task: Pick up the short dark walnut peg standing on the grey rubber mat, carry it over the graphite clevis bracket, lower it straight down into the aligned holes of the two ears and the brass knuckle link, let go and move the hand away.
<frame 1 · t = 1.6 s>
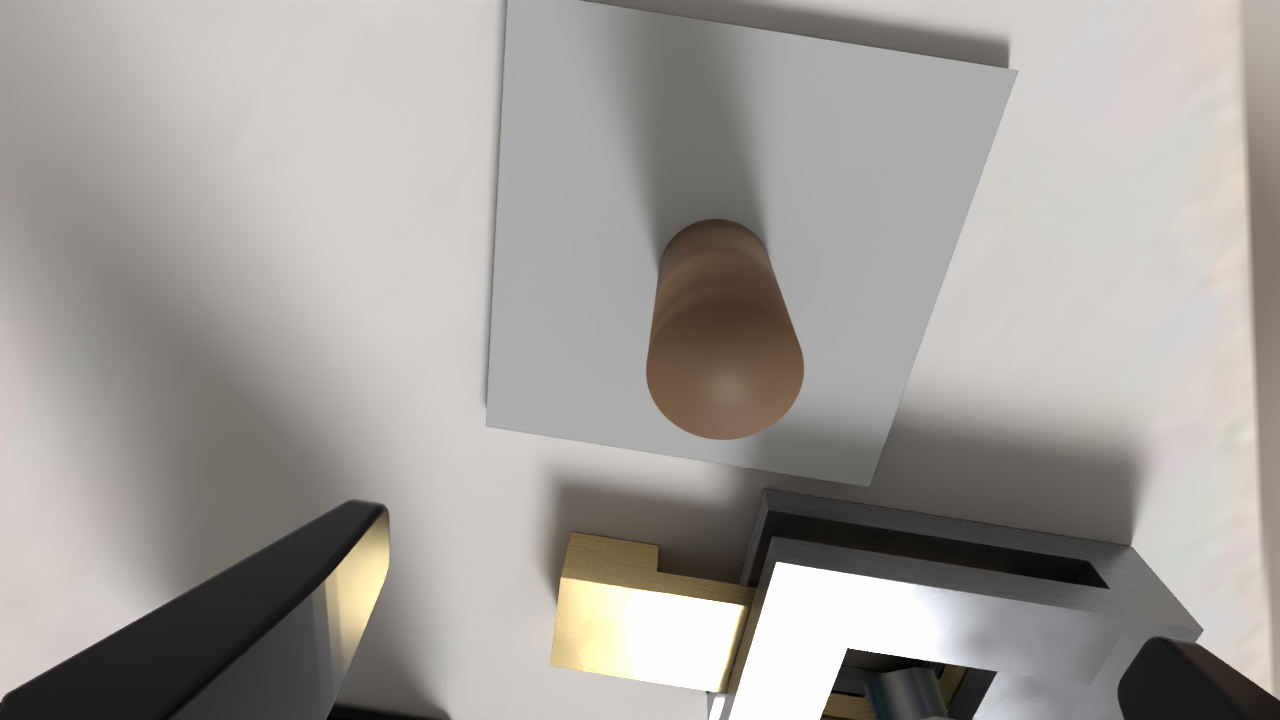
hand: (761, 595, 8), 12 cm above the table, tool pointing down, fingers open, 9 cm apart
grey mat: (713, 268, 19), on the table
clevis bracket: (872, 624, 24), on the table
walnut peg: (714, 273, 18), resting on grey mat
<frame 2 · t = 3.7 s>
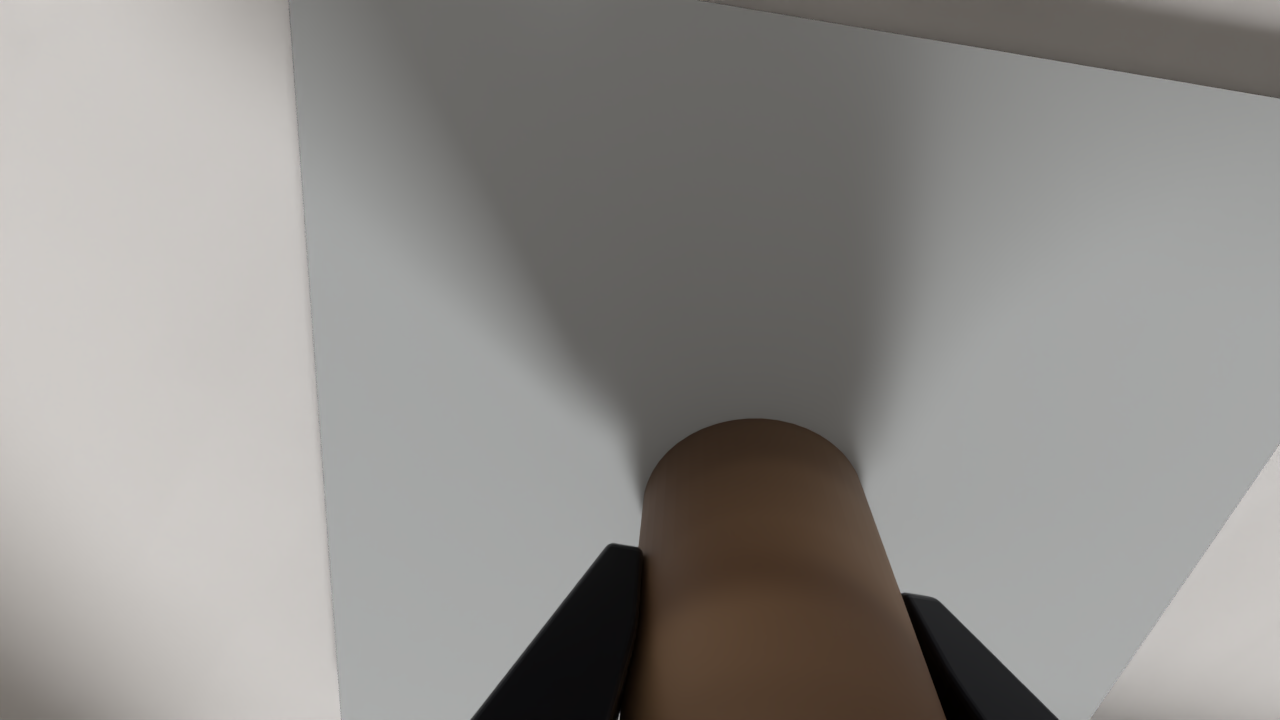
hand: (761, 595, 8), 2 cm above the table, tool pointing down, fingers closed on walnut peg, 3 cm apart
grey mat: (749, 490, 10), on the table
walnut peg: (751, 512, 9), resting on grey mat, touching gripper
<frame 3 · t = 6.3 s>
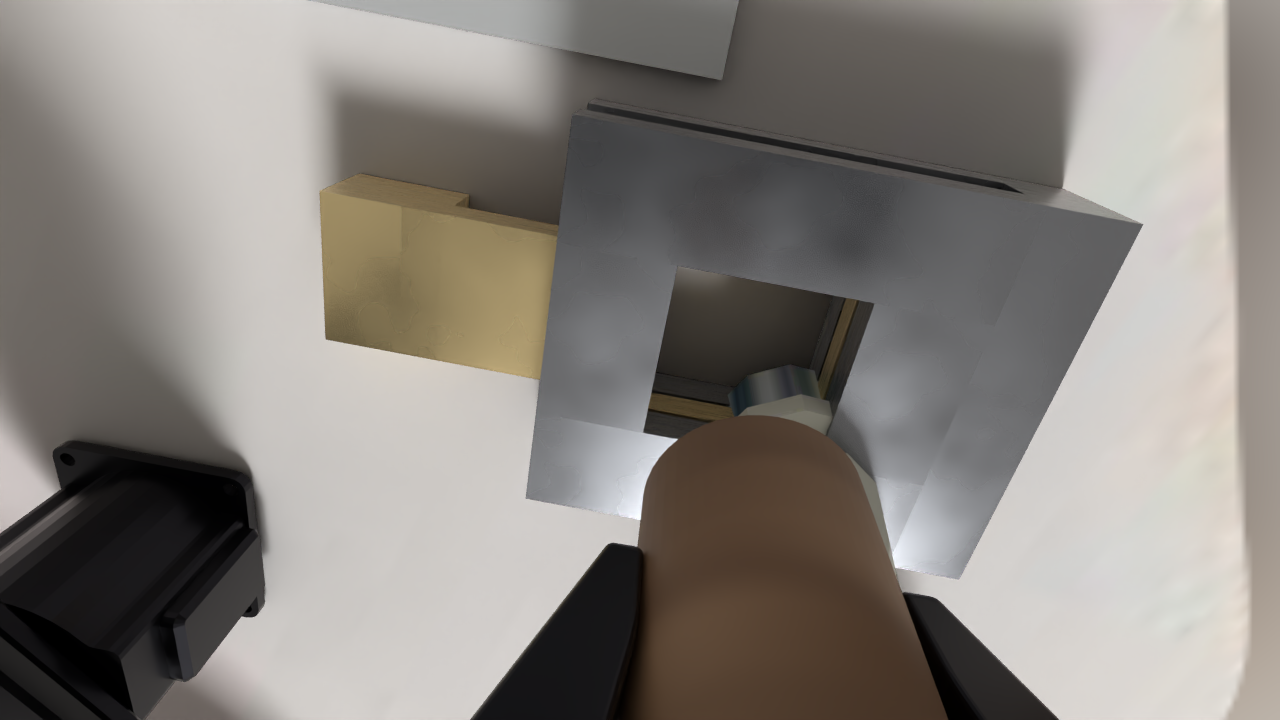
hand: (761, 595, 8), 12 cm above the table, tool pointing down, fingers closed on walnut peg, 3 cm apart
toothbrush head: (851, 650, 25), on the table, touching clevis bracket
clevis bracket: (743, 317, 19), on the table
walnut peg: (751, 509, 9), point 10 cm above the table, touching gripper
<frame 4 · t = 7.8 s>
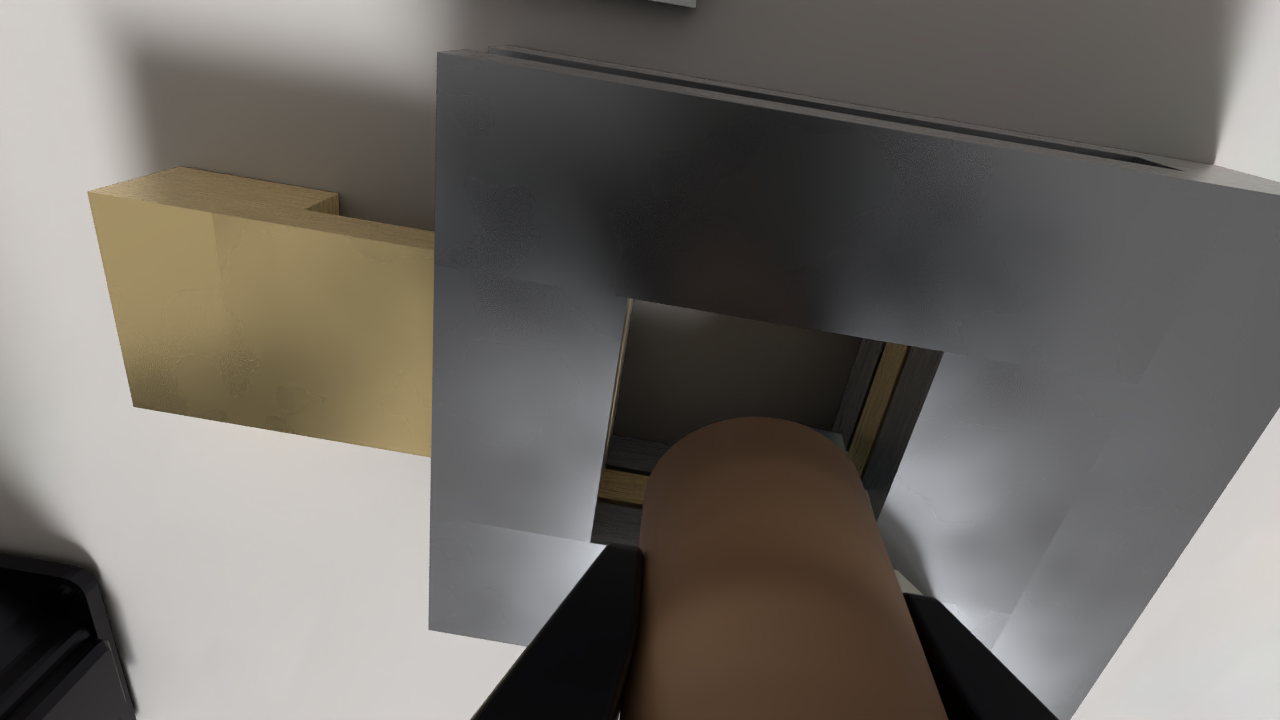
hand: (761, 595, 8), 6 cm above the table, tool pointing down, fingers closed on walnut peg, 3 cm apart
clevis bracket: (738, 359, 14), on the table
walnut peg: (752, 510, 9), point 5 cm above the table, touching gripper
when the fingers open (4 cm above the table, at t = 9.0 s): walnut peg drops 3 cm, resting in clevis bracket.
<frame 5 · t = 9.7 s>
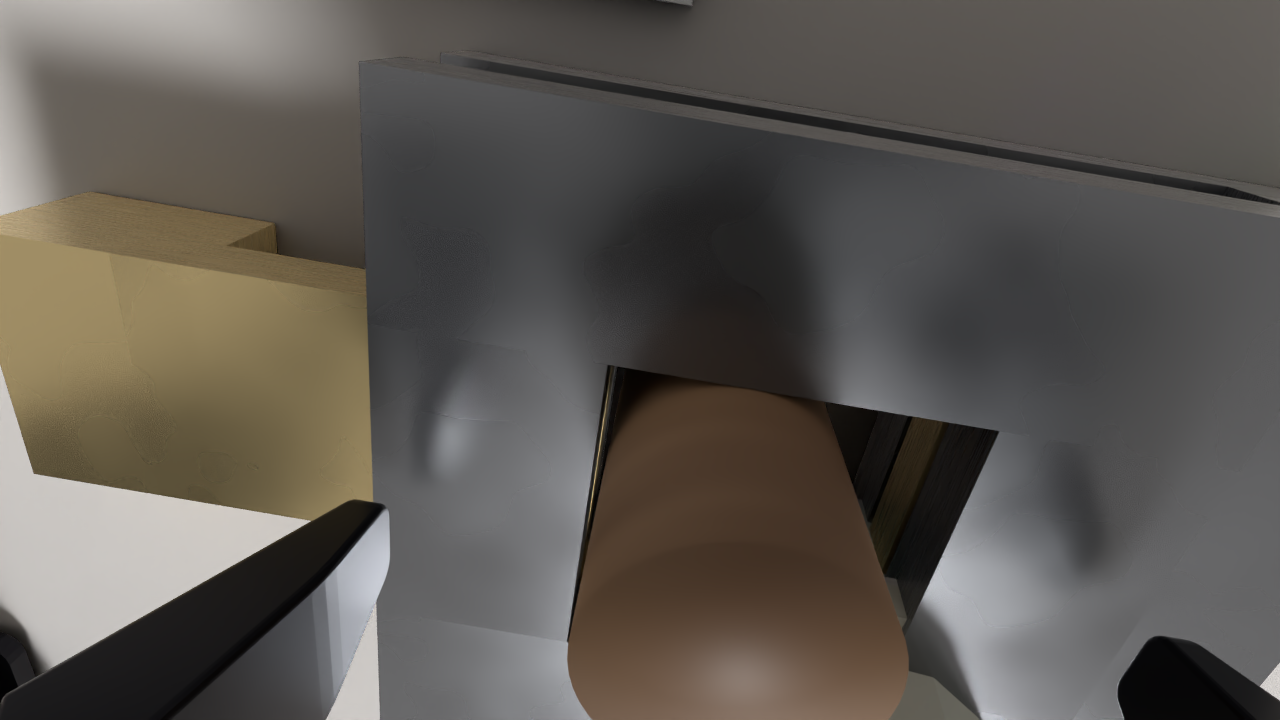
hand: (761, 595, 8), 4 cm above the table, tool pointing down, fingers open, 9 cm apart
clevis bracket: (742, 413, 12), on the table
walnut peg: (716, 369, 11), resting in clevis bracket
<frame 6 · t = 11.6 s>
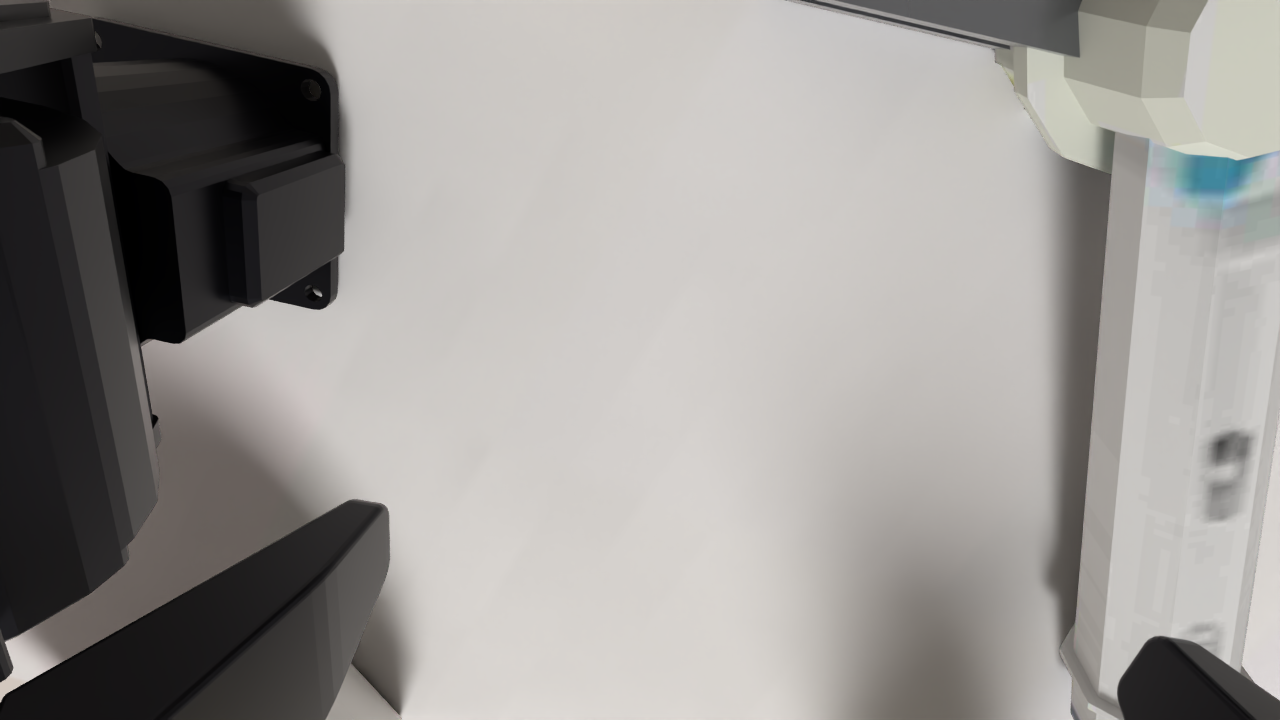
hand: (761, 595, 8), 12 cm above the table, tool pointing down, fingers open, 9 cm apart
soap bottle: (265, 706, 29), on the table
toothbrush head: (1101, 373, 19), on the table, touching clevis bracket
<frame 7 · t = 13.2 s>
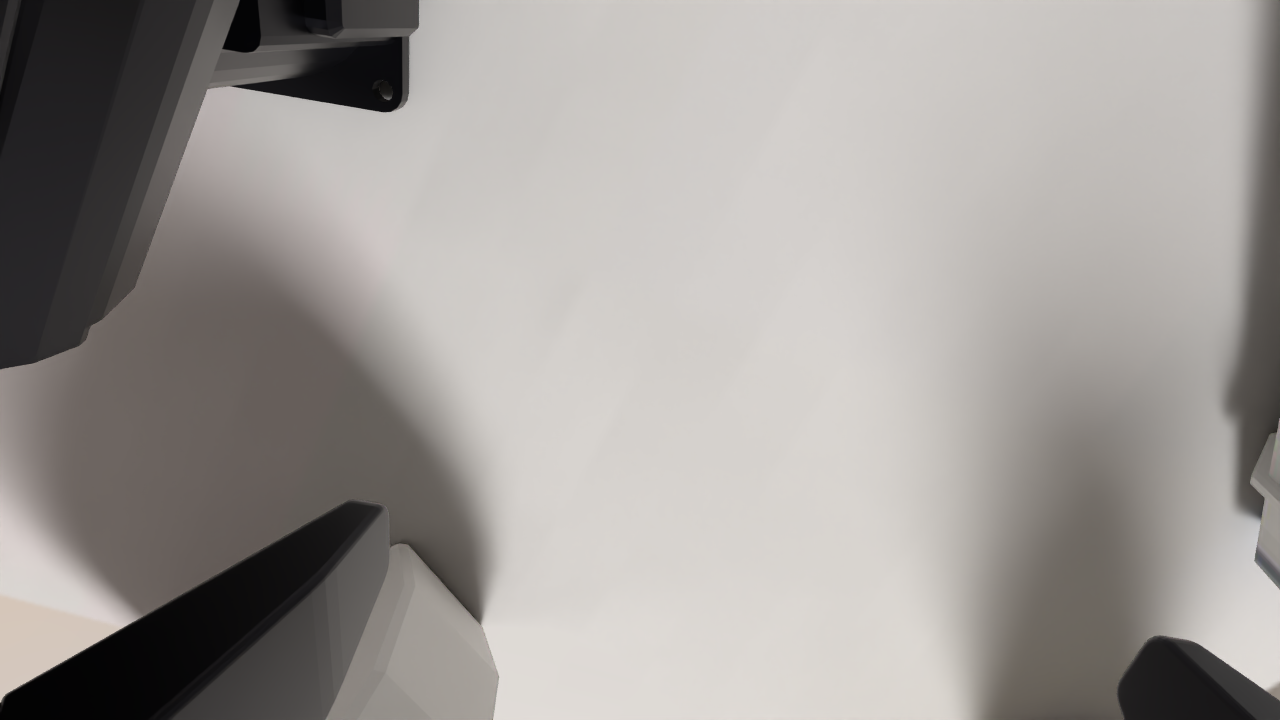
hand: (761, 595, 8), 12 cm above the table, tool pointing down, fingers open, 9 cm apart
soap bottle: (331, 626, 26), on the table
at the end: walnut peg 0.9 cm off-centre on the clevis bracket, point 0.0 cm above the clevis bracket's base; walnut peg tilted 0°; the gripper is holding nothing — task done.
